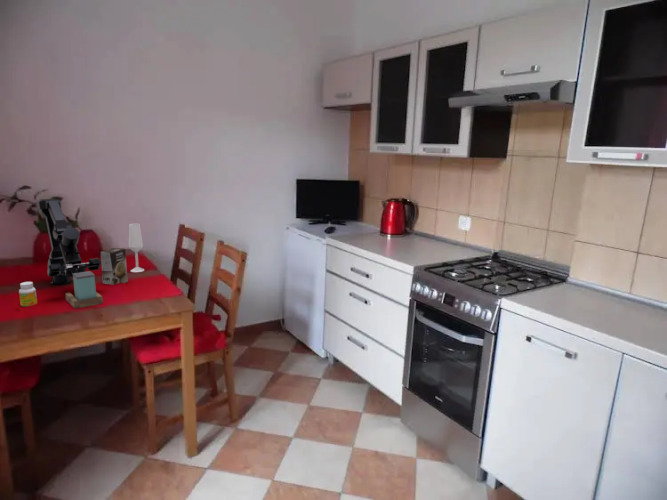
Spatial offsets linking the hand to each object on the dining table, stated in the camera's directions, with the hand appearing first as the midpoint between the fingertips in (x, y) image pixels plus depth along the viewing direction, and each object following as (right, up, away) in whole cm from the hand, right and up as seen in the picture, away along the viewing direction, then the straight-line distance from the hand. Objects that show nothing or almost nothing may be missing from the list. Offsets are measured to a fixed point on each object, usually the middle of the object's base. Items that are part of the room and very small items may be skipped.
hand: (80, 284), depth 177 cm
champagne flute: (+2, +3, +47) cm, 47 cm away
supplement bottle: (-17, -8, -6) cm, 19 cm away
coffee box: (+2, -2, +25) cm, 26 cm away
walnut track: (+2, -8, -1) cm, 8 cm away
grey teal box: (+4, -7, -3) cm, 9 cm away
